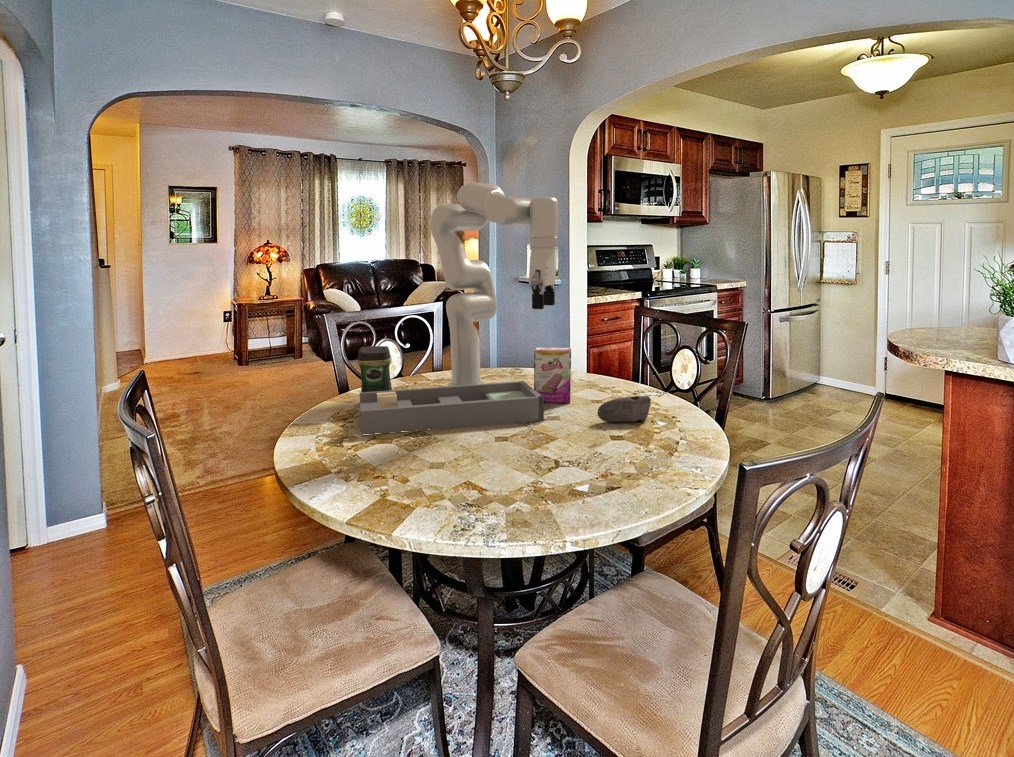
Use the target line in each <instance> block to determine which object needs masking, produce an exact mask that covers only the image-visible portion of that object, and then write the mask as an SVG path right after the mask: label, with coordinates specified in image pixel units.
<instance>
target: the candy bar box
mask: <svg viewBox="0 0 1014 757" xmlns="http://www.w3.org/2000/svg"><path fill="white" fill-rule="evenodd" d="M533 356H534V357H533V359H534V362H533V363H534V364H533V389H534V390H535V391H537V392H538V393H539V394H540V395H542V396H543V397H544V404H570V403H571V394H572V393H571V392H572V391H571V390H572V388H571V387H572V384H571V383H572V348H571V347H535V348H534V354H533Z"/></svg>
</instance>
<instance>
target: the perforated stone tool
mask: <svg viewBox="0 0 1014 757" xmlns="http://www.w3.org/2000/svg"><path fill="white" fill-rule="evenodd" d="M651 401H652V399H651V397H650V396H649V395H636V396H635V395H634V396H624V397H618V398H615V399H611V400H608V401H605V402H604V403H602V404H601V405H600V406H599V407H598V409H597V416H598V418H599V419H600V420H602V421H603V422H606V423H618V424H619V423H620V424H621V423H622V424H625V423H626V424H627V423H628V424H630V423H631V422H632V423H635V422H638V421H639V422H644V421H647V419H648V415H649V412H650V407H651Z"/></svg>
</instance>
